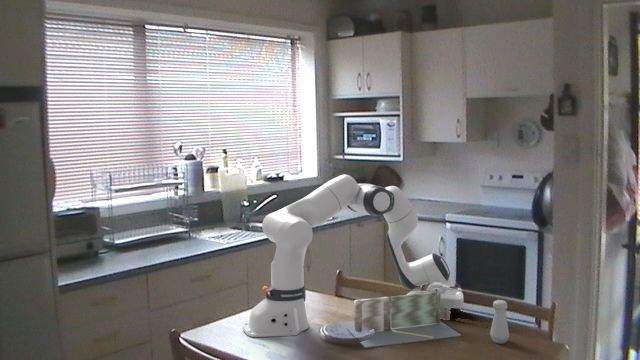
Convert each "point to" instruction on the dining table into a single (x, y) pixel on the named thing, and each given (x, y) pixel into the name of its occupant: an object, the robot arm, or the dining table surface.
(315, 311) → the dining table surface
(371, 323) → the beige patterned panel
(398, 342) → the board
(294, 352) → the dining table surface
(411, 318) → the green fence panel
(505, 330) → the salt shaker
